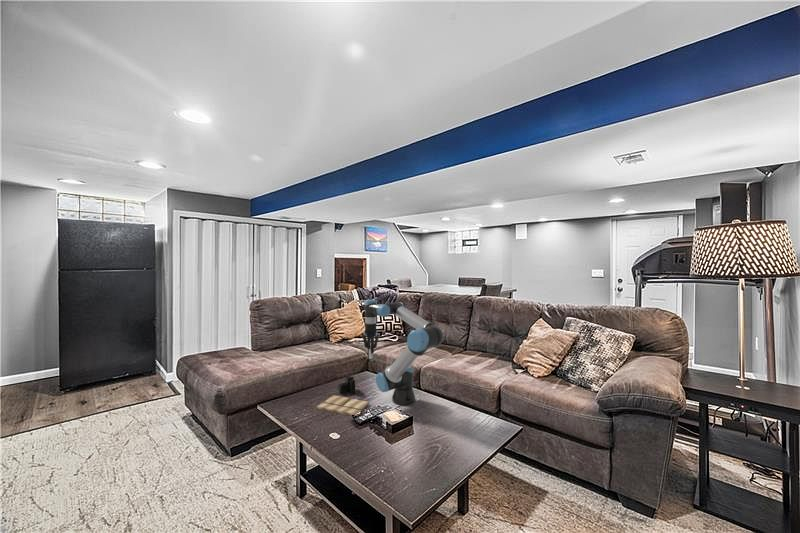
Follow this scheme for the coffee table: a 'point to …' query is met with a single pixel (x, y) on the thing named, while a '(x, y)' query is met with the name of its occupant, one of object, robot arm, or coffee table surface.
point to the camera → (347, 385)
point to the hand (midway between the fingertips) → (370, 358)
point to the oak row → (338, 409)
